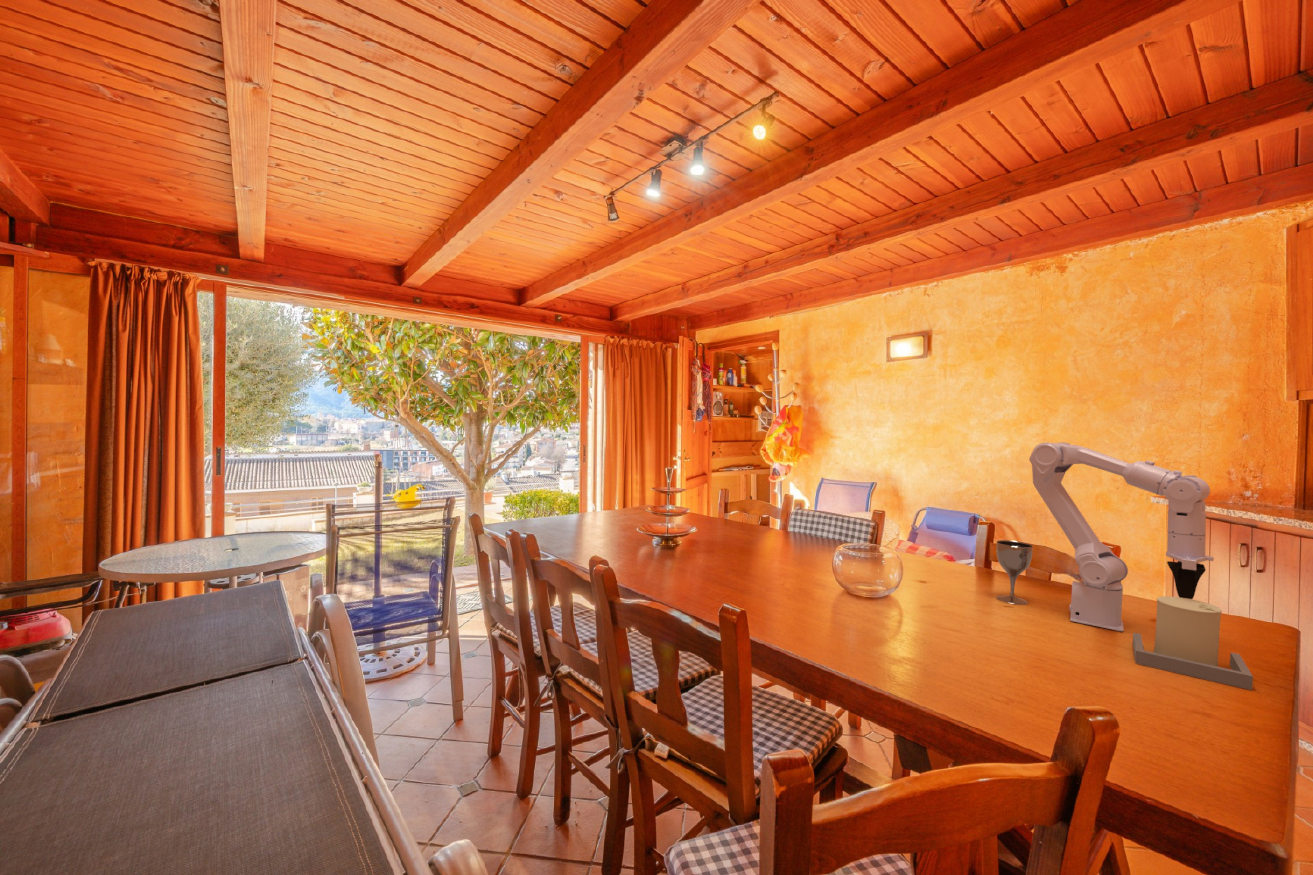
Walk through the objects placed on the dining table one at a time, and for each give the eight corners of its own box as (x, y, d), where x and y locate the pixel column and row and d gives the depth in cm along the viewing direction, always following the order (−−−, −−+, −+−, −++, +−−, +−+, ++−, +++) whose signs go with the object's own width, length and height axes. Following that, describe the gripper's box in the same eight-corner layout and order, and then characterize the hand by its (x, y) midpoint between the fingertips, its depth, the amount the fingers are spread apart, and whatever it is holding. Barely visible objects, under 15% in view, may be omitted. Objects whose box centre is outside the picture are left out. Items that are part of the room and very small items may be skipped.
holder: (1135, 663, 104) (1135, 650, 104) (1132, 644, 114) (1133, 632, 114) (1251, 690, 95) (1252, 676, 94) (1238, 666, 104) (1239, 654, 104)
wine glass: (1031, 607, 135) (1034, 548, 135) (994, 601, 140) (996, 544, 139) (1029, 598, 142) (1031, 542, 142) (993, 593, 146) (996, 538, 146)
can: (1206, 675, 100) (1210, 612, 99) (1144, 655, 108) (1147, 597, 108) (1227, 666, 104) (1230, 605, 103) (1165, 648, 112) (1168, 591, 112)
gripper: (1218, 540, 105) (1217, 610, 105) (1209, 531, 116) (1208, 593, 116) (1168, 536, 109) (1167, 602, 109) (1164, 527, 120) (1163, 587, 120)
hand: (1185, 597), depth 113 cm, fingers closed
